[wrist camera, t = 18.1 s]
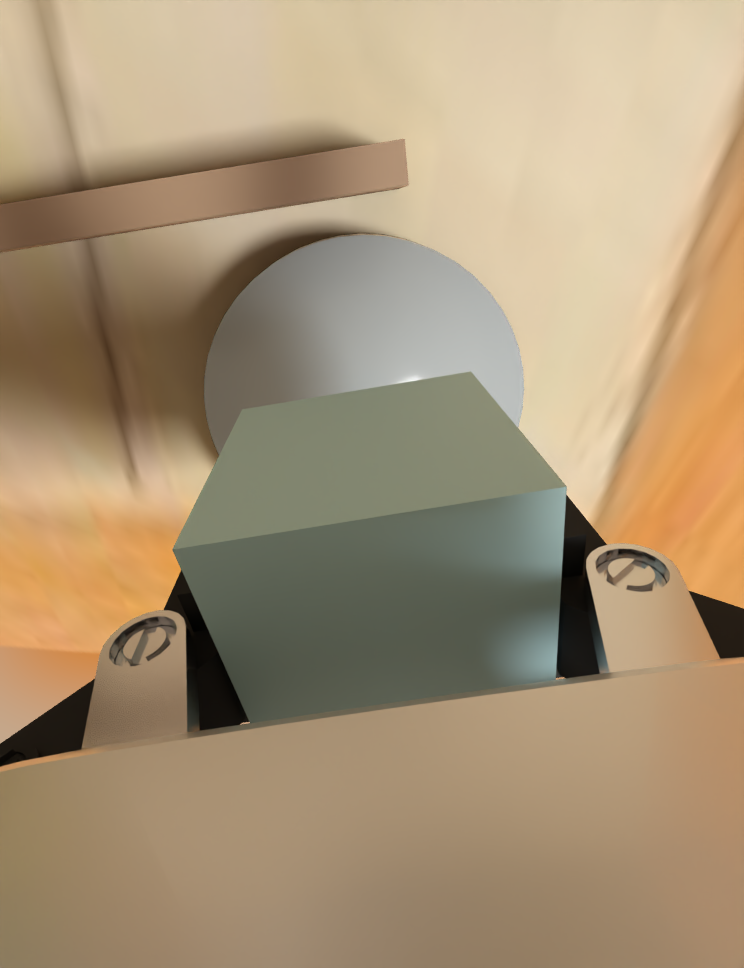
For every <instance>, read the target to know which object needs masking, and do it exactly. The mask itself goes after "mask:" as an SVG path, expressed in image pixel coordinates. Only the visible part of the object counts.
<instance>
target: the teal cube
mask: <svg viewBox="0 0 744 968" xmlns="http://www.w3.org/2000/svg"><path fill="white" fill-rule="evenodd" d="M566 488H567V486H566V485H565V484H564V483H563V482H562V480H561V479H560V478H559V477H558V476H557V474H556V473H555V472H554V471H553V470H552V468H551V467H550V466H549V465H548V464H547V462H546V461H545V460H544V459H543V458H542V456H541V455H540V454H539V453H538V452H537V450H536V449H535V448H534V447H533V446H532V444H531V443H530V442H529V441H528V439H527V438H526V437H525V436H524V435H523V433H522V432H521V431H520V430H519V429H518V427H517V426H516V425H515V424H514V423H513V421H512V420H511V419H510V418H509V417H508V415H507V414H506V413H505V412H504V411H503V409H502V408H501V407H500V406H499V405H498V403H497V402H496V401H495V400H494V399H493V397H492V396H491V395H490V394H489V393H488V391H487V390H486V389H485V388H484V386H483V385H482V384H481V383H480V382H479V380H478V379H477V378H476V377H475V376H474V374H473V373H472V372H471V371H470V372H464V373H458V374H452V375H446V376H440V377H434V378H428V379H422V380H416V381H410V382H404V383H398V384H392V385H386V386H380V387H374V388H368V389H362V390H356V391H350V392H344V393H338V394H332V395H326V396H320V397H314V398H308V399H302V400H296V401H290V402H284V403H278V404H272V405H266V406H260V407H254V408H248V409H242V411H241V413H240V415H239V417H238V419H237V421H236V423H235V425H234V427H233V429H232V431H231V433H230V435H229V437H228V439H227V441H226V443H225V445H224V447H223V449H222V451H221V453H220V455H219V457H218V459H217V461H216V463H215V465H214V467H213V469H212V471H211V473H210V475H209V477H208V479H207V481H206V483H205V485H204V487H203V489H202V491H201V493H200V495H199V497H198V499H197V501H196V503H195V505H194V507H193V509H192V511H191V513H190V515H189V517H188V519H187V521H186V523H185V525H184V527H183V529H182V531H181V533H180V535H179V537H178V539H177V541H176V543H175V545H174V547H173V549H172V550H173V552H174V554H175V556H176V559H177V561H178V563H179V565H180V568H181V570H182V572H183V574H184V576H185V579H186V581H187V583H188V585H189V588H190V590H191V592H192V594H193V597H194V599H195V601H196V603H197V606H198V608H199V610H200V612H201V614H202V617H203V619H204V621H205V623H206V626H207V628H208V630H209V632H210V635H211V637H212V639H213V641H214V644H215V646H216V648H217V650H218V652H219V655H220V657H221V659H222V661H223V664H224V666H225V668H226V670H227V673H228V675H229V677H230V679H231V682H232V684H233V686H234V688H235V690H236V693H237V695H238V697H239V699H240V702H241V704H242V706H243V708H244V711H245V713H246V715H247V717H248V720H249V722H250V723H256V722H263V721H269V720H276V719H283V718H289V717H296V716H303V715H310V714H317V713H324V712H331V711H338V710H345V709H352V708H359V707H366V706H373V705H380V704H386V703H393V702H400V701H408V700H415V699H422V698H429V697H436V696H443V695H450V694H457V693H464V692H471V691H478V690H485V689H493V688H500V687H507V686H515V685H522V684H529V683H537V682H544V681H551V680H556V664H557V647H558V629H559V612H560V594H561V576H562V559H563V541H564V523H565V506H566Z"/></svg>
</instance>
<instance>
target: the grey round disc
mask: <svg viewBox="0 0 744 968" xmlns="http://www.w3.org/2000/svg"><path fill="white" fill-rule="evenodd" d="M470 371H471V372H472V373H473V374H474V376H475V377H476V378H477V379H478V380H479V382H480V383H481V384H482V385H483V386H484V388H485V389H486V390H487V391H488V393H489V394H490V395H491V396H492V397H493V399H494V400H495V401H496V402H497V403H498V405H499V406H500V407H501V408H502V409H503V411H504V412H505V413H506V414H507V415H508V417H509V418H510V419H511V420H512V421H513V423H514V424H515V425H516V426H517V427H518V426H519V421H520V417H521V413H522V406H523V395H524V379H523V367H522V361H521V356H520V351H519V347H518V344H517V341H516V338H515V335H514V333H513V330H512V328H511V326H510V324H509V322H508V320H507V318H506V316H505V314H504V312H503V310H502V309H501V307H500V306H499V305H498V303H497V302H496V300H495V299H494V298H493V296H492V295H491V293H490V292H489V291H488V290H487V289H486V288H485V287H484V286H483V285H482V284H481V283H480V282H479V281H478V280H477V279H476V278H475V276H473V275H472V274H471V273H469V272H468V271H467V270H466V269H464V268H463V267H462V266H460V265H459V264H458V263H456V262H455V261H453V260H451V259H449V258H448V257H446V256H444V255H442V254H440V253H439V252H437V251H435V250H433V249H430V248H428V247H425V246H423V245H420V244H417V243H415V242H412V241H409V240H407V239H402V238H397V237H393V236H388V235H380V234H365V233H361V234H349V235H339V236H334V237H330V238H326V239H322V240H318V241H315V242H313V243H310V244H308V245H305V246H303V247H300V248H297V249H296V250H294V251H292V252H290V253H289V254H287V255H285V256H284V257H282V258H280V259H278V260H277V261H276V262H274V263H273V264H272V265H271V266H269V267H268V268H267V269H266V270H264V271H263V272H262V273H261V274H259V275H258V276H257V277H256V278H254V279H253V280H252V281H251V282H250V283H249V284H248V285H247V287H246V288H245V289H244V290H243V291H242V292H241V293H240V294H239V295H238V296H237V298H236V299H235V300H234V302H233V303H232V305H231V306H230V308H229V309H228V311H227V312H226V314H225V315H224V317H223V319H222V321H221V323H220V325H219V327H218V329H217V331H216V333H215V335H214V338H213V342H212V345H211V348H210V351H209V354H208V358H207V364H206V370H205V376H204V402H205V411H206V418H207V422H208V426H209V430H210V434H211V437H212V440H213V442H214V445H215V447H216V450H217V452H218V454H219V455H220V453H221V451H222V449H223V447H224V445H225V443H226V441H227V439H228V437H229V435H230V433H231V431H232V429H233V427H234V425H235V423H236V421H237V419H238V417H239V415H240V413H241V411H242V409H248V408H254V407H260V406H266V405H272V404H278V403H284V402H290V401H296V400H302V399H308V398H314V397H320V396H326V395H332V394H338V393H344V392H350V391H356V390H362V389H368V388H374V387H380V386H386V385H392V384H398V383H404V382H410V381H416V380H422V379H428V378H434V377H440V376H446V375H452V374H458V373H464V372H470Z"/></svg>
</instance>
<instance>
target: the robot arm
mask: <svg viewBox="0 0 744 968" xmlns="http://www.w3.org/2000/svg"><path fill="white" fill-rule="evenodd" d="M559 677H565V678H566V679H559V680H551V681H544V682H537V683H529V684H522V685H515V686H507V687H500V688H493V689H485V690H478V691H471V692H464V693H457V694H450V695H443V696H436V697H429V698H422V699H415V700H408V701H400V702H393V703H386V704H380V705H373V706H366V707H359V708H352V709H345V710H338V711H331V712H324V713H317V714H310V715H303V716H296V717H289V718H283V719H276V720H269V721H263V722H256V723H249V724H242V725H240V724H241V723H243V722H249V720H248V717H247V715H246V713H245V711H244V708H243V706H242V704H241V702H240V699H239V697H238V695H237V693H236V690H235V688H234V686H233V684H232V682H231V679H230V677H229V675H228V673H227V670H226V668H225V666H224V664H223V661H222V659H221V657H220V655H219V652H218V650H217V648H216V646H215V644H214V641H213V639H212V637H211V635H210V632H209V630H208V628H207V626H206V623H205V621H204V619H203V617H202V614H201V612H200V610H199V608H198V606H197V603H196V601H195V599H194V597H193V594H192V592H191V590H190V588H189V585H188V583H187V581H186V579H185V576H184V574H183V572H182V570H181V572H180V574H179V577H178V579H177V581H176V583H175V586H174V588H173V590H172V592H171V595H170V597H169V599H168V601H167V604H166V606H165V608H164V610H158V611H154V612H149V613H145V614H143V615H141V616H138V617H136V618H134V619H132V620H130V621H129V622H127V623H126V624H124V625H122V626H121V627H120V628H119V629H118V630H116V631H115V632H114V633H113V634H112V635H111V636H110V637H109V639H108V640H107V641H106V643H105V644H104V645H103V648H102V650H101V653H100V656H99V661H98V666H97V672H96V677H95V679H94V680H92V681H91V682H89V683H88V684H87V685H85V686H84V687H82V688H81V689H79V690H78V691H76V692H75V693H73V694H72V695H71V696H69V697H67V698H66V699H65V700H63V701H62V702H60V703H59V704H57V705H56V706H54V707H53V708H52V709H50V710H49V711H47V712H46V713H44V714H43V715H41V716H40V717H38V718H37V719H35V720H34V721H33V722H31V723H30V724H28V725H27V726H25V727H24V728H22V729H21V730H20V731H18V732H17V733H15V734H14V735H12V736H11V737H10V738H8V739H6V740H5V741H4V742H2V743H1V744H0V968H744V609H743V608H740V607H737V606H734V605H731V604H728V603H725V602H722V601H718V600H715V599H712V598H709V597H706V596H703V595H700V594H697V593H694V592H691V591H688V589H687V586H686V584H685V582H684V580H683V578H682V576H681V574H680V572H679V570H678V568H677V567H676V566H675V564H674V563H673V562H672V561H671V560H669V559H668V558H667V557H666V556H664V555H663V554H661V553H659V552H657V551H654V550H652V549H650V548H647V547H643V546H639V545H634V544H625V543H619V544H608V545H607V544H606V543H605V542H604V541H603V539H602V538H601V537H600V536H599V534H598V533H597V532H596V531H595V529H594V528H593V527H592V526H591V525H590V523H589V522H588V521H587V520H586V518H585V517H584V516H583V515H582V513H581V512H580V511H579V510H578V509H577V507H576V506H575V505H574V504H573V502H572V501H571V500H570V499H569V497H568V496H567V495H566V506H565V523H564V541H563V559H562V576H561V594H560V612H559V629H558V647H557V664H556V678H559Z"/></svg>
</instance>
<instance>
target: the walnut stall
mask: <svg viewBox="0 0 744 968" xmlns="http://www.w3.org/2000/svg"><path fill="white" fill-rule="evenodd" d="M407 185H408V173H407V161H406V150H405V139H400V140H394V141H388V142H382V143H376V144H369V145H363V146H357V147H351V148H345V149H339V150H332V151H326V152H320V153H314V154H308V155H302V156H295V157H289V158H283V159H277V160H271V161H265V162H258V163H252V164H246V165H240V166H234V167H228V168H222V169H215V170H209V171H203V172H197V173H191V174H185V175H178V176H172V177H166V178H160V179H154V180H148V181H141V182H135V183H129V184H123V185H117V186H111V187H104V188H98V189H92V190H86V191H80V192H74V193H67V194H61V195H55V196H49V197H43V198H37V199H30V200H24V201H18V202H12V203H6V204H0V253H1V252H7V251H14V250H20V249H26V248H32V247H39V246H45V245H51V244H57V243H63V242H70V241H76V240H82V239H88V238H95V237H101V236H107V235H113V234H120V233H126V232H132V231H138V230H145V229H151V228H157V227H163V226H170V225H176V224H182V223H188V222H194V221H201V220H207V219H213V218H219V217H226V216H232V215H238V214H244V213H251V212H257V211H263V210H269V209H276V208H282V207H288V206H294V205H300V204H307V203H313V202H319V201H325V200H332V199H338V198H344V197H350V196H357V195H363V194H369V193H375V192H382V191H388V190H394V189H399V188H402V187H405V186H407Z"/></svg>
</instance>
